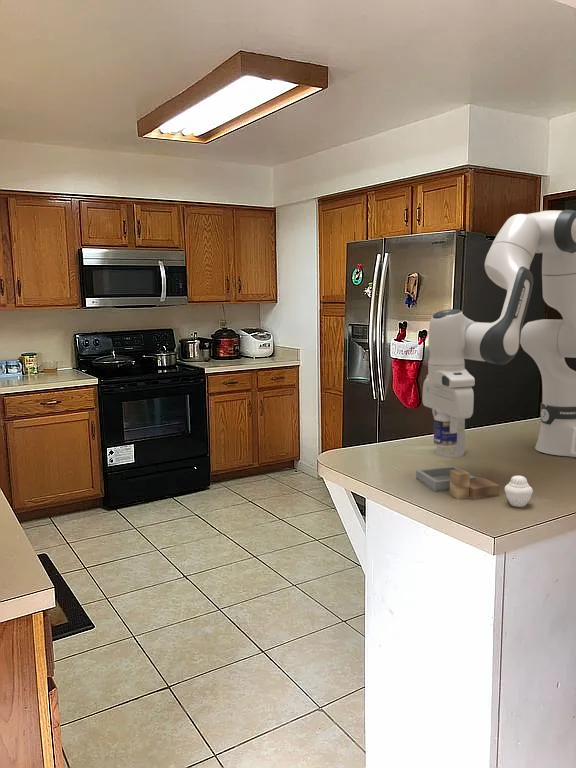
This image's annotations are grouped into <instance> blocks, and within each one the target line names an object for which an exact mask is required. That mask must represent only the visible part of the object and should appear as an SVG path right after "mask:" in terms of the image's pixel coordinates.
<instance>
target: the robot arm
mask: <svg viewBox="0 0 576 768" xmlns="http://www.w3.org/2000/svg"><path fill="white" fill-rule="evenodd" d="M535 254H542V259H541V280H542V281H541V282H542V283H541V285H542V286H541V287H542V299H543V301H544V302H545V303H546V305H547V306H549V307H550V308H552V309H554V310H556V311H557V312H558V313H559V314H560V315H561V317H562V319H555V318H554V319H547V318H545V319H544V318H542V319H535V320H532V321H528V322H526V323H525V324H524V321H525V318H526V315H527V311H528V307H529V302H530V300H531V296H532V291H533V287H534V276H533V273H532V272H531V271H530V269H531V268H530V267H531V264H532V262H533V260H534V257H535ZM484 270H485V273H486V275H487V277H488V278H489V279H490V281H492V282H493V283H494V284H495V285H496V286H498V287H500V288H501V289H504V290H506V296H505V298H504V303H503V306H502V309H501V314H500V316H499V318H498V319H497V320H495V321H493V322H479V321H474V320H472V319H470V318H468V317H467V316H465V314H463V311H462V310H461V309H456V308H455V309H452V308H451V309H444V310H443V309H442V310H439V311H437V312H435V313H433V315H431V317H430V318H431V319H430V320H429V326H428V336H427V337H428V339H427V340H428V350H429V359H428V363H427V364H428V365H427V367H428V368H427V370H428V373H427V375H426V376H425V377H426V378H425V379H424V381H423V386H422V394H421V395H422V398H421V399H422V400H421V401H422V404H423V406H425V407H426V408H429V409H431V410H432V411H431V412H432V413H431V414H432V416H433V419H434V418H435V416H436V415H437V412H436V407H439V408H442V412H443V413H445V414H447V415H450V420H451V422H450V425H448V432H450V433H457V426H458V424H459V421H460V419H465V420H466V419H470V418H471V417H472V416H473V414H474V404H475V403H474V402H475V401H474V399H475V397H474V396H475V393H474V389H473V388H472V387H474V386H475V385H476V383H475V381H476V380H475V379H476V378H475V377H474V376H473V375H472V374H470V372H469V371H468V370H467V369H466V366H465V365H466V363H465V360H471V361H477V362H487V363H490V364H494V365H500V366H502V365H506V364H508V363H509V362H511V360H513V359H514V358H515V357H516V355H517V354H518V352H519V349H520V347H521V348H522V349H523V352H525V353H526V354H527V355H529V356H530V357H531V358H532V359H533V361H534V363H535V364H536V365H537V367H538V370H539V371H540V375H541V385H542V390H541V391H542V401H541V402H540V411H539V414H540V425H539V426H540V427H539V428H540V429H539V433H538V437H537V442H536V443H535V447H534V449H535V450H536V451H537V452H540V453H544V454H547V455H552V456H553V455H555V456H562V457H571V458H576V370H574V369H572V368H570V367H569V366H568V364H567V362H566V359H565V358H571V359H572V358H574V359H575V358H576V210H573V209H564V210H556V209H555V210H554V209H553V210H542V211H538V212H532V213H517V214H516V213H515V214H514V215H512V216H510V217H509V218H508V219H506V221H505V222H504V223H503V225H502V227H501V228H500V230H499V231H498V232H497V234H496V236H495V238H494V239H493V241H492V244H491V246H490V248H489V250H488V252H487V254H486V257H485V260H484Z"/></svg>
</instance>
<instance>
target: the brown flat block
mask: <svg viewBox="0 0 576 768" xmlns="http://www.w3.org/2000/svg"><path fill="white" fill-rule="evenodd" d="M496 497H500V484H497V483H495V482H493V481H491V480H489V479H488V478H484V477H476V478H474V479H470V483H469V498H468V499H471V500H473V501H475V500H481V499H489V498H496Z"/></svg>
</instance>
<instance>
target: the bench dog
mask: <svg viewBox="0 0 576 768" xmlns="http://www.w3.org/2000/svg"><path fill="white" fill-rule="evenodd" d="M470 475H471V474H470V472H467V471H466V470H464V469H463V468H459V469H455V470H450V490H449V495H450V496H452V497H453V498H455V499H457V500H461V499H470V498H469V483H470Z"/></svg>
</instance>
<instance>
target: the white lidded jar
mask: <svg viewBox="0 0 576 768" xmlns="http://www.w3.org/2000/svg"><path fill="white" fill-rule="evenodd" d="M504 492H505V496H506V498H507V500H508V502H509V504H510V505H511V506H512V507H516V508H517V507H518V508H523V507H526V506H527V504H528V502H529V501H530V499H531V497H532V494H533V492H534V489H533V487H531V486H530V485H529V483H528V479H527V478H526V477H525V476H523V475H520V474H519V475H514V476H512V477H511V478H510V481H509V482H508V483H507V484H506V485H505V486H504Z"/></svg>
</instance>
